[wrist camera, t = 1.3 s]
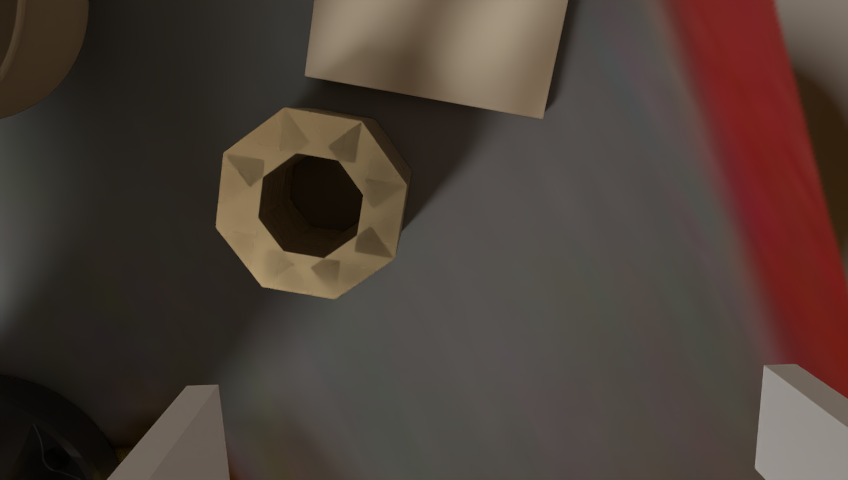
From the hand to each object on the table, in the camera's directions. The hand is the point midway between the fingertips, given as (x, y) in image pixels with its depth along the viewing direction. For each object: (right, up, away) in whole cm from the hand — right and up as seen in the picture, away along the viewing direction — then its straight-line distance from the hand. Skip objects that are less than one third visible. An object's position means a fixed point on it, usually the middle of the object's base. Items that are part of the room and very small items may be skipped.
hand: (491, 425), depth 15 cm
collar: (-6, +7, +18) cm, 20 cm away
